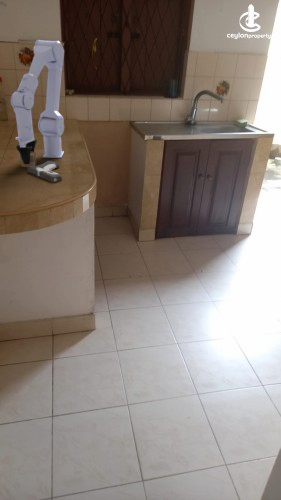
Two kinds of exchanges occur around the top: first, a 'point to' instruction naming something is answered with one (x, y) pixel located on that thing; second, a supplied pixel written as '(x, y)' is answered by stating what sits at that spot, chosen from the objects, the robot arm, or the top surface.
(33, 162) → the walnut cube
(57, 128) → the robot arm
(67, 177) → the top surface
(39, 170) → the handgun
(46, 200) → the top surface
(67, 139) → the top surface
